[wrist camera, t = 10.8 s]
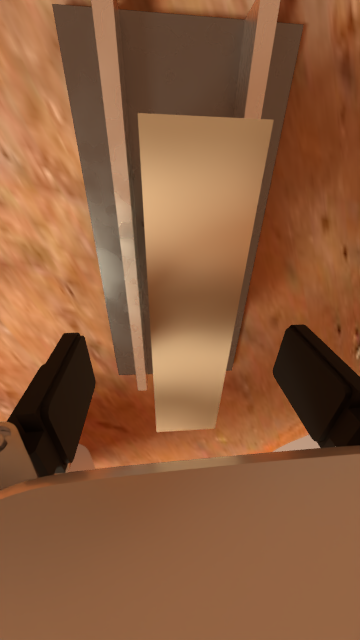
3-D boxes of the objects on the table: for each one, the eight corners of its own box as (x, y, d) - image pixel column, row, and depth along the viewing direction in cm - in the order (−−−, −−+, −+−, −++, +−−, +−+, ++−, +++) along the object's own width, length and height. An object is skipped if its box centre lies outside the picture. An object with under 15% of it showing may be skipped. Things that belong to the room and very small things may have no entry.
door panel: (194, 333, 25) (215, 428, 15) (157, 334, 24) (156, 432, 15) (207, 151, 16) (273, 119, 7) (150, 149, 16) (137, 113, 6)
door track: (229, 364, 29) (237, 386, 26) (120, 369, 28) (115, 391, 25) (294, 33, 14) (331, -5, 11) (59, 15, 13) (28, -33, 10)
